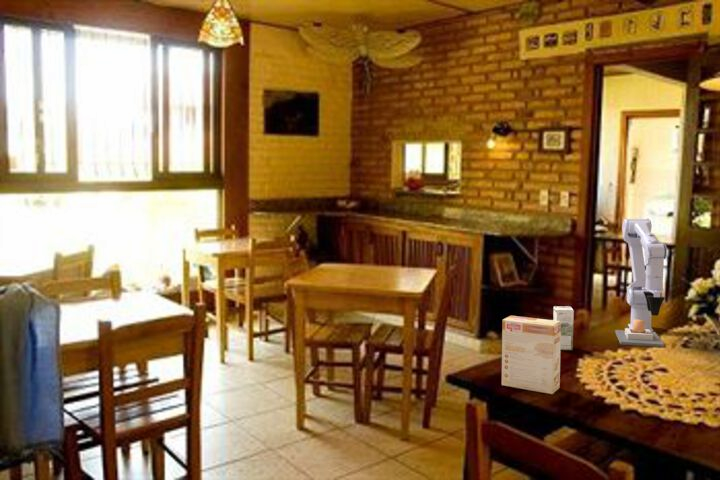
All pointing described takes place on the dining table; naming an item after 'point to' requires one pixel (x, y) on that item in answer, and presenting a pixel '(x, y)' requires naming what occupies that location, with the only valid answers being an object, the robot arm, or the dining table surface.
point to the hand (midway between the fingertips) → (652, 313)
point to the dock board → (638, 338)
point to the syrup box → (565, 325)
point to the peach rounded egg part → (638, 326)
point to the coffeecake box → (531, 353)
